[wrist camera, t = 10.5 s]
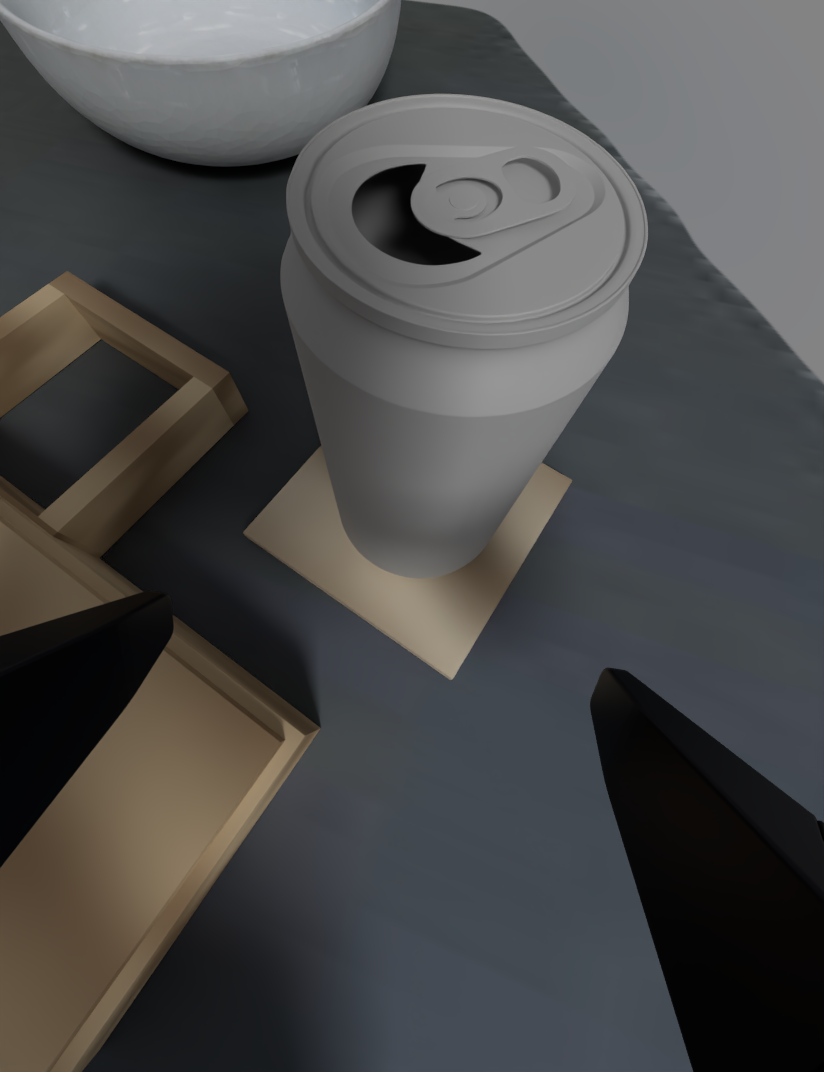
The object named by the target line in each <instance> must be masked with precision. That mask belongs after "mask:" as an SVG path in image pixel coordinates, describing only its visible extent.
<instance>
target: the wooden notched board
mask: <svg viewBox="0 0 824 1072" xmlns="http://www.w3.org/2000/svg"><path fill="white" fill-rule="evenodd" d="M101 339H102V340H103V341H105V342H106V343H108V344H109V345H111V346H112V347H114V348H116V349H117V350H119V351H120V352H122V353H123V354H125V355H126V356H128V357H129V358H131V359H132V360H134V361H136V362H137V363H139V364H140V365H142V366H143V367H145V368H146V369H148V370H149V371H151V372H153V373H154V374H156V375H157V376H159V377H160V378H162V379H163V380H165V381H166V382H168V383H169V384H171V385H173V386H174V387H176V388H177V389H179V390H178V391H177V392H176V393H175V394H174V395H173V396H172V397H171V398H170V399H168V400H167V401H166V402H165V403H164V404H163V405H162V406H161V407H159V408H158V409H157V410H156V411H155V412H154V413H153V414H152V415H151V416H149V417H148V418H147V419H146V420H145V421H144V422H143V423H142V424H141V425H139V426H138V427H137V428H136V429H135V430H134V431H133V432H132V433H130V434H129V435H128V436H127V437H126V438H125V439H124V440H123V441H122V442H120V443H119V444H118V445H117V446H116V447H115V448H114V449H113V450H112V451H110V452H109V453H108V454H107V455H106V456H105V457H104V458H103V459H101V460H100V461H99V462H98V463H97V464H96V465H95V466H94V467H93V468H91V469H90V470H89V471H88V472H87V473H86V474H85V475H84V476H83V477H81V478H80V479H79V480H78V481H77V482H76V483H75V484H74V485H72V486H71V487H70V488H69V489H68V490H67V491H66V492H65V493H64V494H62V495H61V496H60V497H59V498H58V499H57V500H56V501H55V502H53V503H52V504H51V505H50V506H49V507H48V508H47V509H46V510H45V509H43V508H42V507H41V506H40V505H38V504H37V503H36V502H34V501H33V500H32V499H30V498H29V497H28V496H26V495H25V494H24V493H23V492H21V491H20V490H19V489H17V488H16V487H15V486H13V485H12V484H11V483H9V482H8V481H7V480H6V479H4V478H3V477H2V476H0V636H1V635H4V634H8V633H11V632H14V631H17V630H21V629H24V628H27V627H30V626H34V625H37V624H40V623H43V622H47V621H50V620H53V619H56V618H60V617H63V616H66V615H69V614H73V613H76V612H79V611H82V610H86V609H89V608H92V607H95V606H99V605H102V604H105V603H108V602H112V601H115V600H118V599H122V598H125V597H128V596H131V595H135V594H138V593H141V592H143V591H142V590H140V589H139V588H138V587H136V586H135V585H134V584H132V583H131V582H130V581H129V580H127V579H126V578H125V577H123V576H122V575H121V574H119V573H118V572H117V571H116V570H114V569H113V568H112V567H110V566H109V565H108V564H106V563H105V562H104V561H102V560H101V559H100V557H101V556H102V555H103V554H104V553H105V552H106V551H107V550H108V549H109V548H110V547H111V546H112V545H113V544H114V543H115V542H116V541H117V540H118V539H119V538H120V537H121V536H122V535H123V534H124V533H125V532H126V531H127V530H128V529H129V528H130V527H131V526H132V525H133V524H134V523H136V522H137V521H138V520H139V519H140V518H141V517H142V516H143V515H144V514H145V513H146V512H147V511H148V510H149V509H150V508H151V507H152V506H153V505H154V504H155V503H156V502H157V501H158V500H159V499H160V498H161V497H162V496H163V495H164V494H165V493H166V492H167V491H168V490H169V489H170V488H171V487H172V486H173V485H174V484H175V483H176V482H177V481H178V480H179V479H180V478H181V477H182V476H183V475H184V474H185V473H186V472H187V471H188V470H189V469H190V468H191V467H192V466H193V465H194V464H195V463H196V462H197V461H198V460H199V459H200V458H201V457H202V456H203V455H204V454H205V453H206V452H207V451H208V450H209V449H210V448H211V447H212V446H213V445H214V444H215V443H216V442H217V441H218V440H219V439H221V438H222V437H223V436H224V435H225V434H226V433H227V432H228V431H229V430H230V429H231V428H232V427H233V426H234V425H235V424H236V423H237V422H238V421H239V420H240V419H241V418H242V417H243V416H244V415H245V414H246V413H247V412H248V411H249V410H248V409H247V407H246V405H245V403H244V401H243V399H242V397H241V395H240V393H239V391H238V389H237V387H236V385H235V383H234V381H233V379H232V377H231V375H230V373H229V372H228V371H226V370H225V369H223V368H221V367H220V366H218V365H217V364H215V363H213V362H212V361H210V360H209V359H207V358H205V357H204V356H202V355H201V354H199V353H197V352H196V351H194V350H193V349H191V348H189V347H188V346H186V345H185V344H183V343H181V342H180V341H178V340H177V339H175V338H173V337H172V336H170V335H169V334H167V333H165V332H164V331H162V330H161V329H159V328H157V327H156V326H154V325H153V324H151V323H149V322H148V321H146V320H145V319H143V318H141V317H140V316H138V315H137V314H135V313H133V312H132V311H130V310H129V309H127V308H125V307H124V306H122V305H121V304H119V303H117V302H116V301H114V300H113V299H111V298H109V297H108V296H106V295H105V294H103V293H101V292H100V291H98V290H97V289H95V288H93V287H92V286H90V285H89V284H87V283H85V282H84V281H82V280H81V279H79V278H77V277H76V276H74V275H73V274H71V273H69V272H68V271H66V272H65V273H64V274H62V275H61V276H59V277H58V278H56V279H55V280H53V281H52V282H51V283H49V284H48V285H46V286H45V287H43V288H42V289H41V290H39V291H38V292H36V293H35V294H33V295H32V296H30V297H29V298H28V299H26V300H25V301H23V302H22V303H20V304H19V305H17V306H16V307H15V308H13V309H12V310H10V311H9V312H7V313H6V314H5V315H3V316H2V317H0V418H1V417H2V416H3V415H5V414H6V413H7V412H8V411H10V410H11V409H12V408H14V407H15V406H16V405H17V404H19V403H20V402H21V401H23V400H24V399H25V398H26V397H28V396H29V395H30V394H31V393H33V392H34V391H35V390H37V389H38V388H39V387H40V386H42V385H43V384H44V383H46V382H47V381H48V380H49V379H51V378H52V377H53V376H55V375H56V374H57V373H58V372H60V371H61V370H62V369H63V368H65V367H66V366H67V365H69V364H70V363H71V362H72V361H74V360H75V359H76V358H78V357H79V356H80V355H81V354H83V353H84V352H85V351H87V350H88V349H89V348H90V347H92V346H93V345H94V344H95V343H97V342H98V341H99V340H101ZM173 622H174V630H173V634H172V637H171V639H170V640H169V642H168V644H167V645H166V647H165V648H164V650H163V652H162V653H161V655H160V656H159V658H158V659H157V661H156V663H155V664H154V666H153V667H152V669H151V670H150V672H149V674H148V675H147V677H146V678H145V680H144V681H143V683H142V685H141V686H140V688H139V689H138V691H137V692H136V694H135V695H134V697H133V698H132V700H131V701H130V703H129V704H128V705H127V707H126V708H125V709H124V711H123V712H122V713H121V715H120V716H119V717H118V719H117V720H116V721H115V722H114V724H113V725H112V726H111V728H110V729H109V730H108V731H107V733H106V734H105V735H104V736H103V738H102V739H101V740H100V742H99V743H98V744H97V745H96V747H95V748H94V749H93V751H92V752H91V753H90V754H89V756H88V757H87V758H86V759H85V761H84V762H83V763H82V765H81V766H80V767H79V768H78V770H77V771H76V772H75V774H74V775H73V776H72V777H71V779H70V780H69V781H68V782H67V784H66V785H65V786H64V788H63V789H62V790H61V791H60V793H59V794H58V795H57V797H56V798H55V799H54V800H53V802H52V803H51V804H50V805H49V807H48V808H47V809H46V811H45V812H44V813H43V814H42V816H41V817H40V818H39V820H38V821H37V822H36V823H35V825H34V826H33V827H32V828H31V830H30V831H29V832H28V834H27V835H26V836H25V837H24V839H23V840H22V841H21V843H20V844H19V845H18V846H17V848H16V849H15V850H14V851H13V853H12V854H11V855H10V857H9V858H8V859H7V860H6V862H5V863H4V864H3V866H2V867H1V868H0V1072H82V1071H83V1070H84V1068H85V1067H86V1066H87V1065H88V1064H89V1062H90V1061H91V1060H92V1059H93V1057H94V1056H95V1055H96V1054H97V1053H98V1051H99V1050H100V1049H101V1047H102V1046H103V1044H104V1043H105V1042H106V1040H107V1039H108V1037H109V1036H110V1034H111V1033H112V1031H113V1030H114V1028H115V1027H116V1026H117V1024H118V1023H119V1021H120V1020H121V1018H122V1017H123V1015H124V1014H125V1012H126V1011H127V1010H128V1008H129V1007H130V1005H131V1004H132V1002H133V1001H134V999H135V998H136V996H137V995H138V994H139V992H140V991H141V989H142V988H143V986H144V985H145V983H146V982H147V980H148V979H149V978H150V976H151V975H152V973H153V972H154V970H155V969H156V967H157V966H158V964H159V963H160V962H161V960H162V959H163V957H164V956H165V954H166V953H167V951H168V950H169V948H170V947H171V945H172V944H173V943H174V941H175V940H176V938H177V937H178V935H179V934H180V932H181V931H182V929H183V928H184V927H185V925H186V924H187V922H188V921H189V919H190V918H191V916H192V915H193V913H194V912H195V911H196V909H197V908H198V906H199V905H200V903H201V902H202V900H203V899H204V897H205V896H206V895H207V893H208V892H209V890H210V889H211V887H212V886H213V884H214V883H215V881H216V880H217V879H218V877H219V876H220V874H221V873H222V871H223V870H224V868H225V867H226V865H227V864H228V863H229V861H230V860H231V858H232V857H233V855H234V854H235V852H236V851H237V849H238V848H239V847H240V845H241V844H242V842H243V841H244V839H245V838H246V836H247V835H248V833H249V832H250V831H251V829H252V828H253V826H254V825H255V823H256V822H257V820H258V819H259V817H260V816H261V815H262V813H263V812H264V810H265V809H266V807H267V806H268V804H269V803H270V801H271V800H272V798H273V797H274V796H275V794H276V793H277V791H278V790H279V788H280V787H281V785H282V784H283V782H284V781H285V780H286V778H287V777H288V775H289V774H290V772H291V771H292V769H293V768H294V766H295V765H296V764H297V762H298V761H299V759H300V758H301V756H302V755H303V753H304V752H305V750H306V749H307V748H308V746H309V745H310V743H311V742H312V740H313V739H314V737H315V736H316V734H317V733H318V732H319V730H320V729H321V728H320V727H319V726H317V725H316V724H315V723H314V722H312V721H311V720H310V719H308V718H307V717H306V716H304V715H303V714H302V713H300V712H299V711H298V710H297V709H295V708H294V707H293V706H291V705H290V704H289V703H287V702H286V701H285V700H284V699H282V698H281V697H280V696H278V695H277V694H276V693H274V692H273V691H272V690H271V689H269V688H268V687H267V686H265V685H264V684H263V683H261V682H260V681H259V680H258V679H256V678H255V677H254V676H252V675H251V674H250V673H248V672H247V671H246V670H244V669H243V668H242V667H241V666H239V665H238V664H237V663H235V662H234V661H233V660H231V659H230V658H229V657H228V656H226V655H225V654H224V653H222V652H221V651H220V650H218V649H217V648H216V647H215V646H213V645H212V644H211V643H209V642H208V641H207V640H205V639H204V638H203V637H201V636H200V635H199V634H198V633H196V632H195V631H194V630H192V629H191V628H190V627H188V626H187V625H186V624H185V623H183V622H182V621H181V620H179V619H178V618H177V617H175V616H174V615H173Z"/></svg>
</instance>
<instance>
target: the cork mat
mask: <svg viewBox="0 0 824 1072" xmlns="http://www.w3.org/2000/svg"><path fill="white" fill-rule="evenodd" d="M571 482H572V480H571V479H569V478H567V477H566V476H564V475H562V474H560V473H559V472H557V471H555V470H553V469H552V468H550V467H548V466H547V465H545V464H543V463H541V464H540V465H539V467H538V468H537V470H536V471H535V473H534V474H533V476H532V478H531V479H530V481H529V482H528V484H527V485H526V487H525V488H524V490H523V491H522V493H521V494H520V496H519V497H518V499H517V500H516V502H515V503H514V505H513V506H512V508H511V509H510V511H509V512H508V514H507V515H506V517H505V518H504V520H503V521H502V523H501V524H500V526H499V527H498V529H497V530H496V532H495V533H494V535H493V536H492V538H491V539H490V541H489V542H488V544H487V545H486V547H485V548H484V549H483V550H482V552H481V553H480V554H479V555H478V556H477V557H476V558H475V559H473V560H472V561H471V562H470V563H468V564H467V565H465V566H464V567H462V568H460V569H458V570H456V571H454V572H452V573H449V574H446V575H443V576H439V577H433V578H409V577H403V576H399V575H396V574H392V573H390V572H387V571H385V570H383V569H381V568H379V567H377V566H376V565H374V564H372V563H371V562H370V561H368V560H367V559H366V558H365V557H364V556H362V555H361V554H360V553H359V552H358V551H357V549H356V548H355V547H354V545H353V544H352V543H351V541H350V540H349V538H348V536H347V534H346V532H345V530H344V528H343V525H342V522H341V518H340V514H339V510H338V507H337V503H336V499H335V495H334V491H333V488H332V484H331V480H330V476H329V472H328V469H327V465H326V461H325V457H324V453H323V450H322V446H320V447H319V448H318V449H317V450H316V451H315V452H314V454H313V455H312V456H311V457H310V458H309V459H308V460H307V461H306V463H305V464H304V465H303V466H302V467H301V468H300V469H299V470H298V471H297V473H296V474H295V475H294V476H293V477H292V478H291V479H290V480H289V481H288V483H287V484H286V485H285V486H284V487H283V488H282V489H281V490H280V492H279V493H278V494H277V495H276V496H275V497H274V498H273V499H272V500H271V502H270V503H269V504H268V505H267V506H266V507H265V508H264V509H263V511H262V512H261V513H260V514H259V515H258V516H257V517H256V518H255V519H254V521H253V522H252V523H251V524H250V525H249V526H248V527H247V528H246V529H245V531H244V532H243V533H244V535H245V536H246V537H247V538H248V539H250V540H251V541H253V542H254V543H256V544H257V545H258V546H260V547H261V548H263V549H264V550H266V551H267V552H268V553H270V554H271V555H273V556H274V557H276V558H277V559H278V560H280V561H281V562H283V563H284V564H286V565H287V566H288V567H290V568H291V569H293V570H294V571H296V572H297V573H298V574H300V575H301V576H303V577H304V578H306V579H307V580H308V581H310V582H311V583H313V584H314V585H315V586H317V587H318V588H320V589H321V590H323V591H324V592H325V593H327V594H328V595H330V596H331V597H333V598H334V599H335V600H337V601H338V602H340V603H341V604H343V605H344V606H345V607H347V608H348V609H350V610H351V611H353V612H354V613H355V614H357V615H358V616H360V617H361V618H363V619H364V620H365V621H367V622H368V623H370V624H371V625H373V626H374V627H375V628H377V629H378V630H380V631H381V632H383V633H384V634H385V635H387V636H388V637H390V638H391V639H393V640H394V641H395V642H397V643H398V644H400V645H401V646H402V647H404V648H405V649H407V650H408V651H410V652H411V653H412V654H414V655H415V656H417V657H418V658H420V659H421V660H422V661H424V662H425V663H427V664H428V665H430V666H431V667H432V668H434V669H435V670H437V671H438V672H440V673H441V674H442V675H444V676H445V677H447V678H448V679H450V680H452V679H453V678H454V676H455V674H456V673H457V671H458V669H459V668H460V666H461V664H462V663H463V661H464V659H465V658H466V656H467V654H468V653H469V651H470V649H471V648H472V646H473V644H474V643H475V641H476V640H477V638H478V636H479V635H480V633H481V631H482V630H483V628H484V626H485V625H486V623H487V621H488V620H489V618H490V616H491V615H492V613H493V611H494V610H495V608H496V606H497V605H498V603H499V601H500V600H501V598H502V596H503V595H504V593H505V591H506V590H507V588H508V586H509V585H510V583H511V581H512V580H513V578H514V576H515V575H516V573H517V571H518V570H519V568H520V566H521V565H522V563H523V562H524V560H525V558H526V557H527V555H528V553H529V552H530V550H531V548H532V547H533V545H534V543H535V542H536V540H537V538H538V537H539V535H540V533H541V532H542V530H543V528H544V527H545V525H546V523H547V522H548V520H549V518H550V517H551V515H552V513H553V512H554V510H555V508H556V507H557V505H558V503H559V502H560V500H561V498H562V497H563V495H564V493H565V492H566V490H567V489H568V487H569V485H570V484H571Z"/></svg>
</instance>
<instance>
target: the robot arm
mask: <svg viewBox="0 0 824 1072" xmlns="http://www.w3.org/2000/svg"><path fill="white" fill-rule="evenodd" d="M173 630H174V622H173V612H172V601H171V598H170V596H169V595H168V594H166V593H161V592H155V591H144V592H141V593H138V594H135V595H131V596H128V597H125V598H122V599H118V600H115V601H112V602H108V603H105V604H102V605H99V606H95V607H92V608H89V609H86V610H82V611H79V612H76V613H73V614H69V615H66V616H63V617H60V618H56V619H53V620H50V621H47V622H43V623H40V624H37V625H34V626H30V627H27V628H24V629H21V630H17V631H14V632H11V633H8V634H4V635H1V636H0V868H1V867H2V866H3V864H4V863H5V862H6V860H7V859H8V858H9V857H10V855H11V854H12V853H13V851H14V850H15V849H16V848H17V846H18V845H19V844H20V843H21V841H22V840H23V839H24V837H25V836H26V835H27V834H28V832H29V831H30V830H31V828H32V827H33V826H34V825H35V823H36V822H37V821H38V820H39V818H40V817H41V816H42V814H43V813H44V812H45V811H46V809H47V808H48V807H49V805H50V804H51V803H52V802H53V800H54V799H55V798H56V797H57V795H58V794H59V793H60V791H61V790H62V789H63V788H64V786H65V785H66V784H67V782H68V781H69V780H70V779H71V777H72V776H73V775H74V774H75V772H76V771H77V770H78V768H79V767H80V766H81V765H82V763H83V762H84V761H85V759H86V758H87V757H88V756H89V754H90V753H91V752H92V751H93V749H94V748H95V747H96V745H97V744H98V743H99V742H100V740H101V739H102V738H103V736H104V735H105V734H106V733H107V731H108V730H109V729H110V728H111V726H112V725H113V724H114V722H115V721H116V720H117V719H118V717H119V716H120V715H121V713H122V712H123V711H124V709H125V708H126V707H127V705H128V704H129V703H130V701H131V700H132V698H133V697H134V695H135V694H136V692H137V691H138V689H139V688H140V686H141V685H142V683H143V681H144V680H145V678H146V677H147V675H148V674H149V672H150V670H151V669H152V667H153V666H154V664H155V663H156V661H157V659H158V658H159V656H160V655H161V653H162V652H163V650H164V648H165V647H166V645H167V644H168V642H169V640H170V639H171V637H172V634H173ZM590 709H591V715H592V720H593V725H594V730H595V735H596V740H597V745H598V751H599V756H600V761H601V766H602V771H603V775H604V780H605V784H606V788H607V791H608V795H609V798H610V801H611V805H612V808H613V811H614V815H615V818H616V821H617V824H618V828H619V831H620V834H621V837H622V841H623V844H624V847H625V850H626V854H627V857H628V860H629V864H630V867H631V870H632V873H633V877H634V880H635V883H636V886H637V890H638V893H639V896H640V899H641V903H642V906H643V909H644V913H645V916H646V919H647V922H648V926H649V929H650V932H651V935H652V939H653V942H654V945H655V948H656V952H657V955H658V958H659V961H660V965H661V968H662V971H663V975H664V978H665V981H666V984H667V988H668V991H669V994H670V997H671V1001H672V1004H673V1007H674V1010H675V1014H676V1017H677V1020H678V1024H679V1027H680V1030H681V1033H682V1037H683V1040H684V1043H685V1046H686V1050H687V1053H688V1056H689V1059H690V1063H691V1066H692V1069H693V1072H824V823H823V822H822V821H817V819H816V817H815V816H814V815H813V814H812V813H810V812H809V811H808V810H806V809H805V808H804V807H803V806H801V805H800V804H799V803H797V802H796V801H795V800H793V799H792V798H791V797H790V796H788V795H787V794H786V793H784V792H783V791H782V790H781V789H779V788H778V787H777V786H775V785H774V784H773V783H771V782H770V781H769V780H768V779H766V778H765V777H764V776H762V775H761V774H760V773H759V772H757V771H756V770H755V769H753V768H752V767H751V766H749V765H748V764H747V763H746V762H744V761H743V760H742V759H740V758H739V757H738V756H736V755H735V754H734V753H733V752H731V751H730V750H729V749H727V748H726V747H725V746H724V745H722V744H721V743H720V742H718V741H717V740H716V739H714V738H713V737H712V736H711V735H709V734H708V733H707V732H705V731H704V730H703V729H702V728H700V727H699V726H698V725H696V724H695V723H694V722H692V721H691V720H690V719H689V718H687V717H686V716H685V715H683V714H682V713H681V712H680V711H678V710H677V709H676V708H674V707H673V706H672V705H670V704H669V703H668V702H667V701H665V700H664V699H663V698H661V697H660V696H659V695H658V694H656V693H655V692H654V691H652V690H651V689H650V688H648V687H647V686H646V685H645V684H643V683H642V682H641V681H639V680H638V679H637V678H636V677H634V676H633V675H632V674H630V673H629V672H628V671H625V670H620V669H614V668H605V669H604V670H603V671H602V673H601V675H600V677H599V680H598V682H597V685H596V687H595V690H594V692H593V694H592V697H591V701H590Z"/></svg>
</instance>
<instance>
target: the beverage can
mask: <svg viewBox="0 0 824 1072" xmlns="http://www.w3.org/2000/svg"><path fill="white" fill-rule="evenodd" d="M286 207H287V214H288V219H289V223H290V229H291V234H290V237H289V239H288V242H287V245H286V248H285V251H284V253H283V257H282V260H281V271H280V281H281V292H282V297H283V301H284V305H285V309H286V313H287V317H288V320H289V324H290V328H291V332H292V336H293V339H294V343H295V347H296V351H297V355H298V358H299V362H300V366H301V370H302V374H303V377H304V381H305V385H306V389H307V393H308V396H309V400H310V404H311V408H312V412H313V415H314V419H315V423H316V427H317V431H318V434H319V438H320V442H321V446H322V450H323V453H324V457H325V461H326V465H327V469H328V472H329V476H330V480H331V484H332V488H333V491H334V495H335V499H336V503H337V507H338V510H339V514H340V518H341V522H342V525H343V528H344V530H345V532H346V534H347V536H348V538H349V540H350V541H351V543H352V544H353V545H354V547H355V548H356V549H357V551H358V552H359V553H360V554H361V555H362V556H364V557H365V558H366V559H367V560H368V561H370V562H371V563H372V564H374V565H376V566H377V567H379V568H381V569H383V570H385V571H387V572H390V573H392V574H396V575H399V576H403V577H409V578H433V577H439V576H443V575H446V574H449V573H452V572H454V571H456V570H458V569H460V568H462V567H464V566H465V565H467V564H468V563H470V562H471V561H472V560H473V559H475V558H476V557H477V556H478V555H479V554H480V553H481V552H482V550H483V549H484V548H485V547H486V545H487V544H488V542H489V541H490V539H491V538H492V536H493V535H494V533H495V532H496V530H497V529H498V527H499V526H500V524H501V523H502V521H503V520H504V518H505V517H506V515H507V514H508V512H509V511H510V509H511V508H512V506H513V505H514V503H515V502H516V500H517V499H518V497H519V496H520V494H521V493H522V491H523V490H524V488H525V487H526V485H527V484H528V482H529V481H530V479H531V478H532V476H533V474H534V473H535V471H536V470H537V468H538V467H539V465H540V464H541V462H542V461H543V459H544V458H545V456H546V455H547V453H548V452H549V450H550V449H551V447H552V446H553V444H554V443H555V441H556V440H557V438H558V437H559V435H560V434H561V432H562V431H563V429H564V428H565V426H566V425H567V423H568V422H569V420H570V419H571V417H572V416H573V414H574V413H575V411H576V410H577V408H578V407H579V405H580V404H581V402H582V401H583V399H584V398H585V396H586V395H587V393H588V392H589V390H590V389H591V387H592V386H593V384H594V383H595V381H596V380H597V378H598V377H599V375H600V374H601V372H602V371H603V369H604V368H605V366H606V365H607V363H608V362H609V360H610V359H611V357H612V356H613V354H614V352H615V351H616V349H617V347H618V345H619V343H620V341H621V338H622V336H623V333H624V330H625V327H626V323H627V318H628V310H629V289H628V286H629V284H630V282H631V280H632V279H633V277H634V275H635V273H636V272H637V270H638V268H639V267H640V264H641V262H642V260H643V257H644V254H645V250H646V246H647V239H648V223H647V216H646V212H645V207H644V204H643V201H642V199H641V196H640V194H639V192H638V190H637V188H636V186H635V184H634V183H633V181H632V180H631V178H630V177H629V175H628V174H627V173H626V171H625V170H624V169H623V167H622V166H621V165H620V164H619V163H618V162H617V161H616V160H615V159H614V158H613V157H612V156H611V155H610V154H609V153H608V152H607V151H606V150H605V149H604V148H602V147H601V146H600V145H599V144H597V143H596V142H595V141H593V140H592V139H591V138H589V137H588V136H586V135H585V134H583V133H582V132H580V131H578V130H577V129H575V128H573V127H571V126H569V125H568V124H566V123H564V122H562V121H560V120H558V119H556V118H553V117H551V116H549V115H546V114H544V113H541V112H539V111H536V110H533V109H530V108H528V107H525V106H521V105H518V104H514V103H510V102H506V101H502V100H497V99H492V98H486V97H479V96H472V95H460V94H424V95H413V96H405V97H398V98H394V99H389V100H384V101H380V102H377V103H374V104H371V105H368V106H365V107H362V108H359V109H357V110H354V111H352V112H350V113H348V114H346V115H344V116H342V117H340V118H338V119H336V120H335V121H333V122H332V123H330V124H329V125H328V126H326V127H325V128H323V129H322V130H321V131H320V132H318V133H317V134H316V135H315V136H314V137H313V138H312V139H311V140H310V141H309V142H308V143H307V144H306V146H305V147H304V148H303V149H302V151H301V152H300V154H299V155H298V157H297V159H296V162H295V164H294V166H293V169H292V171H291V174H290V177H289V179H288V183H287V188H286Z"/></svg>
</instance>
